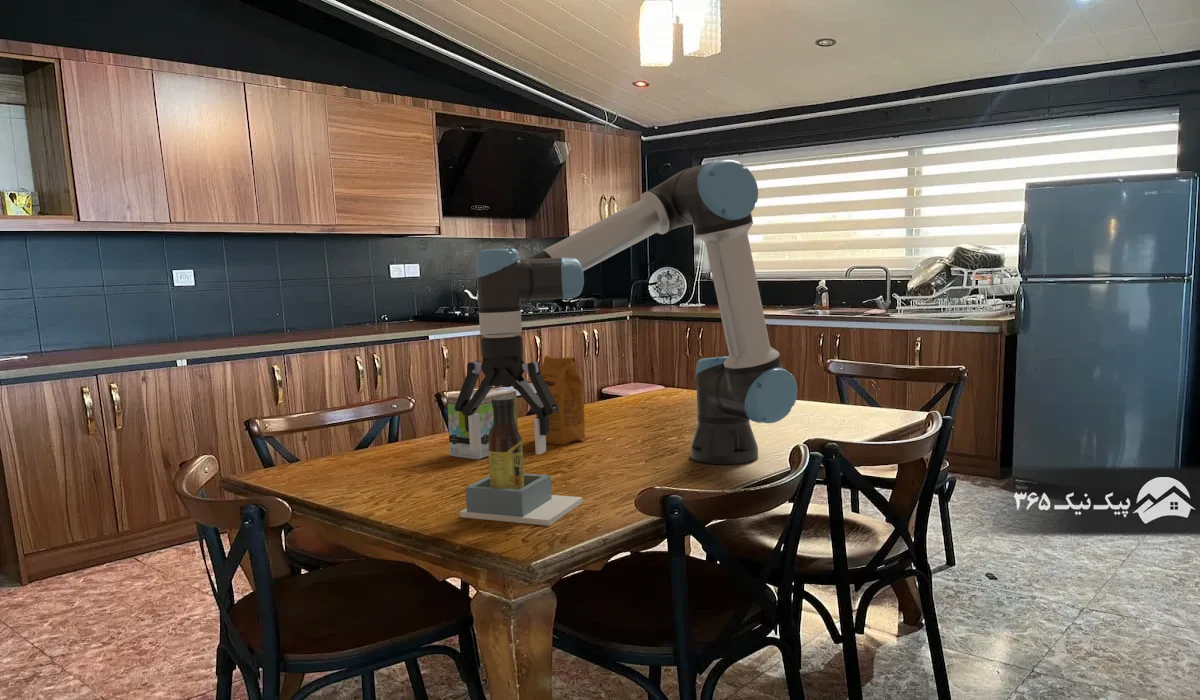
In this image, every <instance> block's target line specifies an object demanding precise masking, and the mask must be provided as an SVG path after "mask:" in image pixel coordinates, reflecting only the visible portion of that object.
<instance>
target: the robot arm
mask: <svg viewBox="0 0 1200 700" xmlns="http://www.w3.org/2000/svg"><path fill="white" fill-rule="evenodd" d="M641 194H642V195H641V196H640V200H638V201H636V202H634V203H632V204H630V205H629V206H627V207H625V208H623V209H621V210H619V211H617V212H615V213H613V214H611V215H609V216H607V217H605V218H603V219H601V220H599V221H597V222H596V223H593V224H592V225H590V226H588V227H585V228H584V229H582V230H580V231H578V232H576V233H573V234H572V235H570V236H568V237H566V238H564V239H562V240H560V241H558V242H556V243H554V244H552V245H551V246H548V247H547V248H544V249H543V250H541V251H539V252H537V253H535V254H533V255H530V256H529V257H527V258H525V259H524V258H520V257H519V253H518V250H517V249H515V248H492V249H482V250H479V251H478V253H477V254H476V262H475V263H476V265H475V266H476V267H475V269H476V271H475V272H476V275H475V278H476V284H477V299H478V318H479V319H478V320H479V322H478V323H479V334H480V335H482V336H483V337H481V339H480V353H481V354H480V355H481V357H482V362H480V361H478V360H473V361H470V362H469V361H468V363H467V364H466V375H465V378H464V381H463V383H462V386H461V389H460V391H459V394H458V395H459V396H458V399H457V402H456V405H455V411H459V412H462V413H463V414H464V416H465V429H466V432H469V438H470V451H474V450H477V449H479V448H481V432H480V416H479V413H475V414H474V412H477V411H476V410H477V408H478V407H479V405H480V404H481V402H482V401H483V400H484V398H485V397H486V395H487V394H488V392H489V391H490V389H493V388H499V387H503V388H510V387H512V388H513V389H514V390H515V391H516V392H518V393H519V394H520V396H521V397H522V398H523V400H525V402H526V404H528V406H529V407H530V409H532V411H534V413H535V415H536V414H537V416H538V417H536V416H535V417H533V425H534V427H533V428H534V429H533V430H534V446H535V455H542V454H543V453H545V452H547V442H546V435H547V434H549V416H550V415H551V414H553V413H556V412H557V411H558V406H557V404H556V402H555V400H554V398H553V396H552V394H551V392H550V390H549V388H548V386H547V384H546V382H545V380H544V378H543V376H542V374H541V369H542V368H541V364H540V362H539V361H538V360H535V361H530V362H529V363H528V362H526V363H525V362H524V358H523V356H524V341H523V340H524V339H523V336H522V335H520V333H522V331H523V329H522V328H523V327H522V306H521V305H522V304H521V301H524V302H525V301H526V302H527V301H537V300H540V301H541V300H542V301H543V300H545V301H546V300H559V299H561V300H566V299H573V298H577V297H578V296H580V295H581V294H582V291H583V288H584V284H585V275H584V271H586V270H588V269H590V268H592V267H594V266H595V265H597V264H599V263H602V262H603V261H606V260H608V259H609V258H611V257H613V256H615V255H616V254H618V253H620V252H622V251H625V250H626V249H628V248H630V247H632V246H633V245H635V244H636V245H637V244H638V243H639V242H641V241H643V240H645V239H647V238H649V237H651V236H653V235H654V234H659V235H664V234H667V233H669V232H670V231H672V230H675V229H677V228H682V227H685V226H690V225H693V228H694V229H693V230H694V232H695V237H696V238H698V239H700V240H702V241H703V243H705V244H704V245H705V247H706V253H707V257H708V262H709V265H710V271H711V276H712V279H713V280H712V281H713V285H714V290H715V294H716V299H717V303H718V309H719V313H720V317H721V323H722V327H723V332H724V336H725V337H724V338H725V342H726V347H727V352H728V355H727V356H724V355H723V356H715V357H706V358H705V357H704V358H703V357H702V358H700V359H699V360H698V361H697V362H696V365H695V366H696V367H695V381H696V382H695V383H696V384H695V385H696V411H697V414H696V416H697V424H696V429H695V432H694V436H693V439H692V442H691V445H690V458H691V460H693V461H695V462H699V463H704V464H712V465H737V464H745V463H751V462H753V461H756V460H758V458H759V446H758V444H757V440H756V437H755V434H754V432H753V429H752V426H751V423H750V421H752V422H754V423H759V424H760V423H761V424H774V423H778V422H780V421H782V420H783V419H785V418H786V417H787V416H788V415H789V413H790V412H791V411H792V407H794V406H795V404H796V402H797V397H798V384H797V380H796V378H795V377H794V375H793V374H792V373H790V372H789V371H788V370H787V369H785V368H783V366H782V360H781V359H782V358H781V355H780V352H779V351H778V350H776V349H775V348H773V347H772V346H771V343H770V339H769V333H768V329H767V323H766V318H765V314H764V308H763V304H762V299H761V295H760V288H759V285H758V279H757V274H756V269H755V265H754V260H753V259H754V258H753V255H752V250H751V244H750V239H749V236H748V235H749V234H748V233H749V231H750V229H751V227H752V226H753V224H754V221H753V215H752V212H753V211H754V210H755V207H756V203H758V199H759V188H758V183H757V180H756V178H755V175H754V174H753V173H752V171H750V169H749V168H748V167H747V166H746V165H744V164H742V162H739V161H736V160H734V159H723V160H721V159H719V160H713V161H710V162H707V163H704V164H701V165H697V166H694V167H693V166H692V167H688V168H686V169H683V170H681V171H679V172H677V173H676V174H674V175H672V176H671V177H669V178H667V179H666V180H664V181H662V182H661V183H659V184H658V185H656V186H654V187H652V188H650V189H649V190H647V191H645V192H643V193H641ZM481 373H482V374H483V375H484V378H483V379H482V381H480V383H479V387H478V388H477V390H475V391H476V393H475V394H474V395H473V397H472V398H471V395H472V392H474V389H475V387H476V384H477V381H478V379H479V376H480V374H481ZM524 373H526V375H528V376H529V380H530V381H531V384H532V385H533V388H534V390H535V391H534V390H533V388H532V387H531V386H530V385H529V382H528V380H527V379H526V377H525V376H524V375H523V374H524ZM537 394H538V396H539V397H538V396H537ZM470 398H471V400H470ZM469 400H470V401H469Z"/></svg>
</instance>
